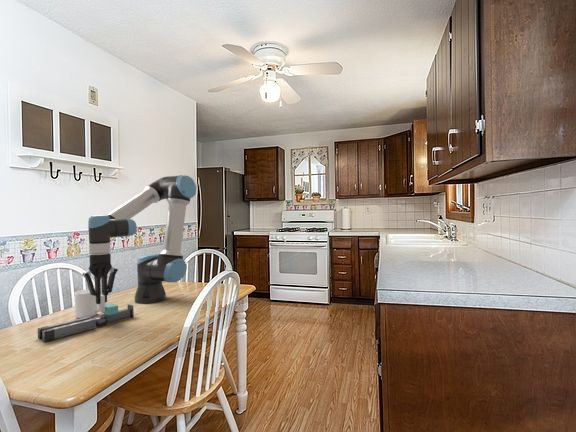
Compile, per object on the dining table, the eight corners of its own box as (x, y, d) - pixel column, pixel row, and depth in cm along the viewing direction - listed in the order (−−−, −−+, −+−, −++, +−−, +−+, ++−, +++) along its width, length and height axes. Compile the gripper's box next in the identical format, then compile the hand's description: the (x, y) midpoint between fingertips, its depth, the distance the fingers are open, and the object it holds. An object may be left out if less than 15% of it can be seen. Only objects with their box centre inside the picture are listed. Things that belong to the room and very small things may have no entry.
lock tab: (111, 310, 145) (111, 303, 144) (118, 312, 141) (118, 305, 141) (101, 312, 141) (101, 305, 141) (108, 315, 138) (108, 307, 138)
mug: (98, 318, 147) (98, 293, 147) (70, 318, 147) (70, 294, 146) (109, 312, 155) (108, 288, 155) (82, 312, 155) (82, 289, 155)
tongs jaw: (93, 326, 135) (93, 318, 135) (96, 328, 133) (95, 319, 133) (42, 340, 122) (42, 330, 122) (44, 341, 120) (44, 332, 120)
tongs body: (127, 315, 151) (127, 303, 150) (134, 317, 147) (134, 305, 147) (37, 337, 125) (37, 323, 125) (43, 341, 121) (43, 327, 121)
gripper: (112, 251, 145) (114, 305, 146) (78, 254, 135) (80, 313, 136) (120, 252, 141) (122, 309, 141) (86, 256, 131) (88, 317, 131)
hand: (101, 311), depth 139 cm, fingers closed
